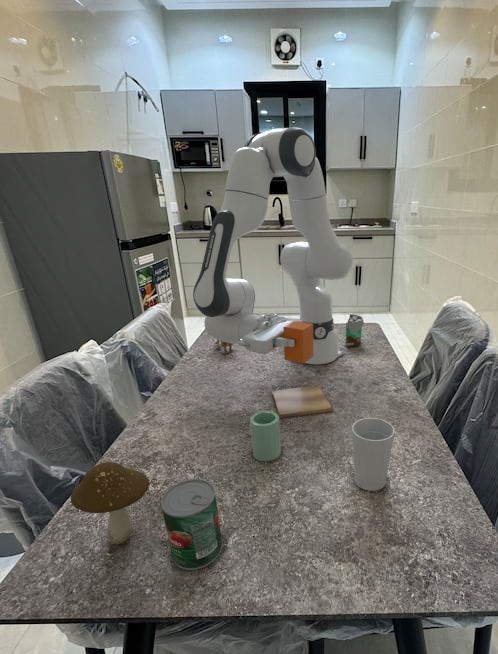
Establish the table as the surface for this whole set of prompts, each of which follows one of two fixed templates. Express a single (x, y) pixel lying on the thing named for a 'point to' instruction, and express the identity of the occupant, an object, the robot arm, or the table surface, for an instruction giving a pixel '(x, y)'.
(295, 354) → the orange block
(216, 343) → the lion figurine
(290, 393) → the wooden board
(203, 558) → the canned tomato
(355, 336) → the food container
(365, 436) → the cup
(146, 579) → the table surface
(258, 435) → the green cup
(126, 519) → the mushroom
